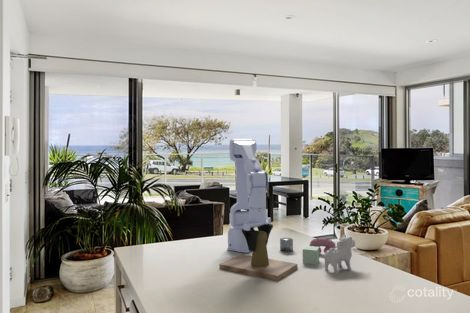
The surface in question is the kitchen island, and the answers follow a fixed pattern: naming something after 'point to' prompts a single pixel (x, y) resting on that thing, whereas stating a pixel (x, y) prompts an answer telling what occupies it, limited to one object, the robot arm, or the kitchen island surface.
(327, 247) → the pink toy figurine
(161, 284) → the kitchen island surface
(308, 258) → the sage block
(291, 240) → the grey domed cylinder
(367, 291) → the kitchen island surface
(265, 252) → the olive peg
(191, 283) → the kitchen island surface
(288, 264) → the walnut board
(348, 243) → the dog figurine
